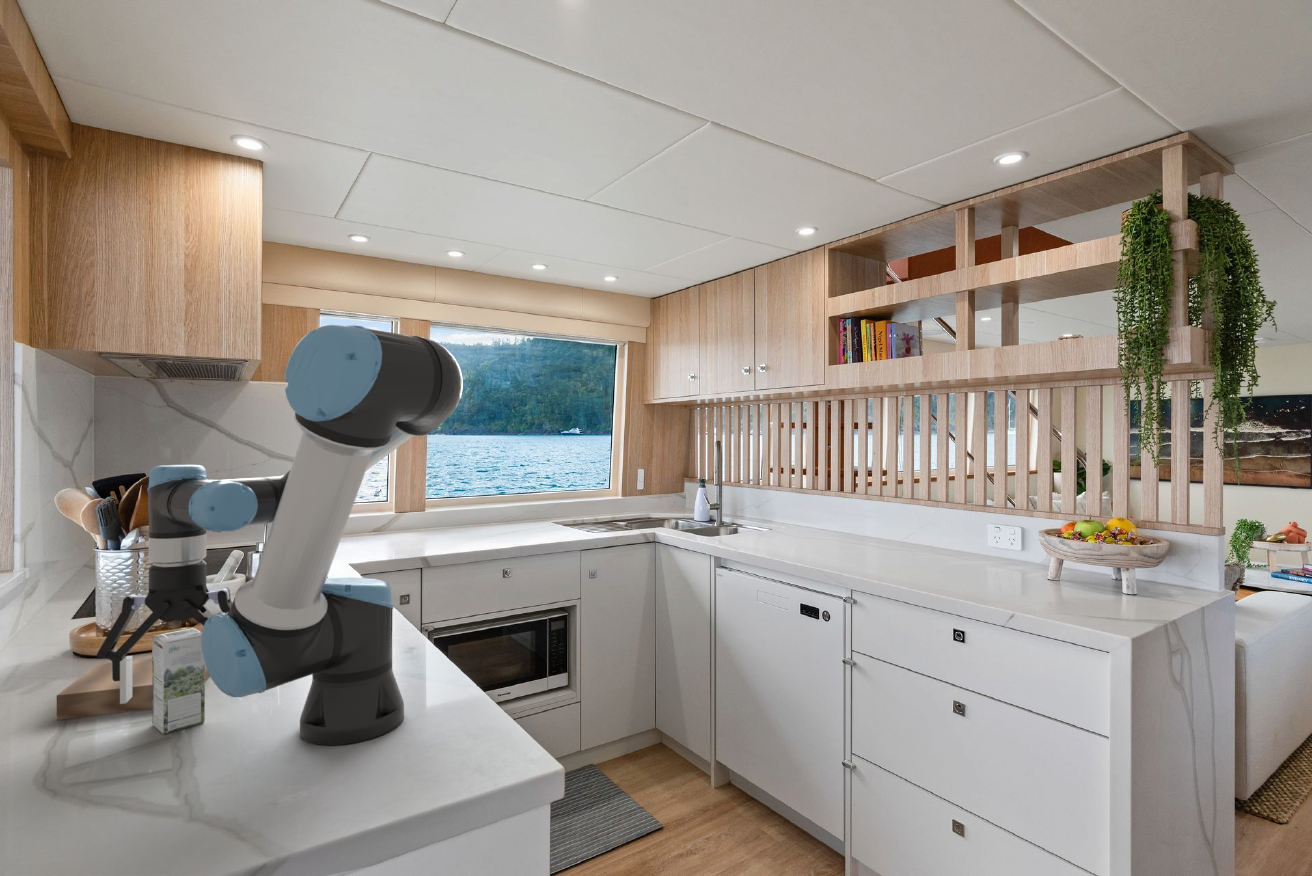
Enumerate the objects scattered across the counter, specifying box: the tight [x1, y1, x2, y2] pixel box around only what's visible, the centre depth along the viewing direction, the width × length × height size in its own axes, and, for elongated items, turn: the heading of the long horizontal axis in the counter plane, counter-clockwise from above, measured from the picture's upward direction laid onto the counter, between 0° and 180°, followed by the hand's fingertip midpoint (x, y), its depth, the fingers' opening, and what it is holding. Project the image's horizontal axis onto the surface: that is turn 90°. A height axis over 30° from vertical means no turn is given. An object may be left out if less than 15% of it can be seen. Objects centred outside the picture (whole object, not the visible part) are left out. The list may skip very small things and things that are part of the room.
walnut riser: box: [56, 658, 211, 721], centre depth 119 cm, size 18×16×4 cm
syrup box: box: [151, 627, 206, 735], centre depth 107 cm, size 6×6×14 cm
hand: (178, 694), depth 107 cm, fingers open, 13 cm apart
